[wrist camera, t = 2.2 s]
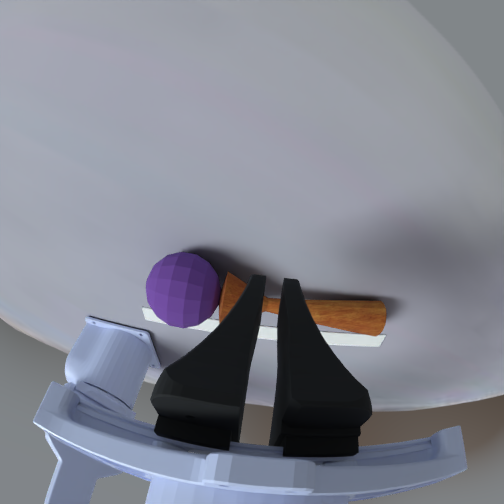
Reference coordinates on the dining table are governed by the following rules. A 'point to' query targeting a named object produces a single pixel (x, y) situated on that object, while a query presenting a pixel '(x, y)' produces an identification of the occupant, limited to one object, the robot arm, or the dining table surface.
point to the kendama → (211, 295)
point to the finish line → (271, 332)
